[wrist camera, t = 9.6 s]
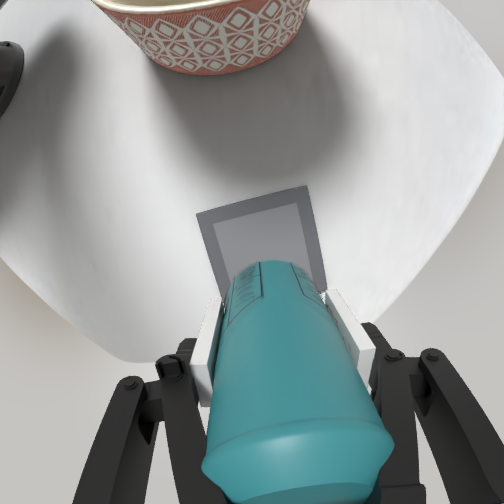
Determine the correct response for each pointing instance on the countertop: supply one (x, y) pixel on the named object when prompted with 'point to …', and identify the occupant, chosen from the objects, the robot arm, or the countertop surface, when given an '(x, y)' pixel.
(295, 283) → the beverage bottle
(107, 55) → the countertop surface
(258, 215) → the slate mat
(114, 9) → the planter
